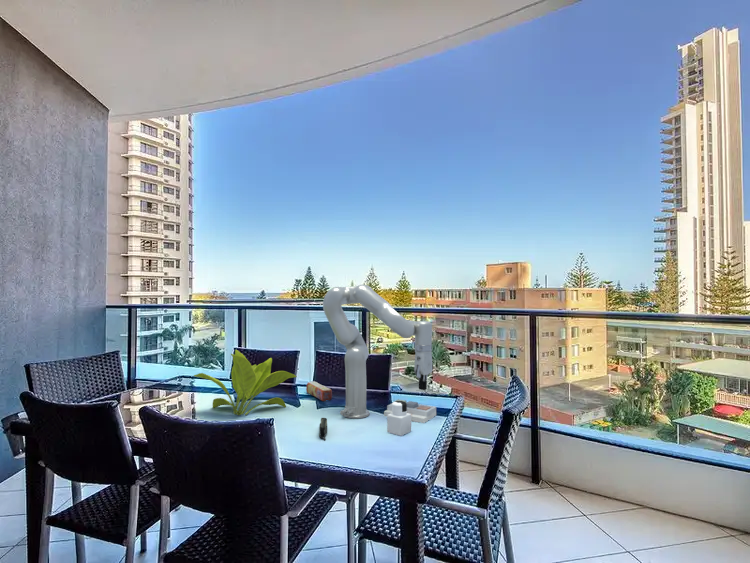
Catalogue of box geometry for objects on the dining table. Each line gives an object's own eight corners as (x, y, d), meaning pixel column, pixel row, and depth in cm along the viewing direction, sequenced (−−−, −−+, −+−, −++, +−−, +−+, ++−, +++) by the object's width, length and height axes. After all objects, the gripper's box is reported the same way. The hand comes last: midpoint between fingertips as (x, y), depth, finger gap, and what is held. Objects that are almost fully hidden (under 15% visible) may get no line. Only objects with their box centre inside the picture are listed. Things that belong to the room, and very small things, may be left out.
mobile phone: (319, 416, 168) (319, 427, 153) (327, 416, 168) (327, 427, 154) (319, 428, 168) (319, 441, 153) (327, 428, 168) (327, 440, 153)
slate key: (413, 409, 183) (413, 404, 183) (405, 407, 185) (405, 403, 185) (418, 406, 187) (418, 402, 187) (409, 405, 189) (409, 401, 189)
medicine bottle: (397, 427, 168) (397, 398, 168) (411, 431, 164) (411, 401, 164) (386, 432, 163) (386, 402, 163) (401, 436, 158) (401, 405, 158)
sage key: (402, 407, 186) (402, 402, 186) (393, 405, 188) (393, 401, 188) (406, 404, 190) (406, 400, 190) (398, 403, 192) (398, 399, 192)
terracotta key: (425, 414, 180) (425, 409, 180) (417, 412, 182) (416, 408, 182) (430, 411, 183) (430, 407, 183) (421, 410, 186) (421, 405, 186)
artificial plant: (300, 427, 188) (313, 367, 205) (234, 391, 158) (256, 325, 176) (234, 431, 206) (251, 376, 224) (164, 399, 177) (190, 339, 195)
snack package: (333, 400, 212) (333, 387, 212) (321, 402, 208) (321, 389, 208) (316, 392, 230) (316, 380, 230) (305, 393, 226) (305, 381, 226)
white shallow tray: (424, 423, 174) (424, 413, 174) (383, 415, 184) (383, 407, 184) (436, 415, 185) (436, 406, 185) (397, 409, 195) (397, 400, 195)
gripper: (423, 351, 175) (423, 393, 175) (437, 347, 188) (436, 387, 187) (408, 349, 179) (407, 391, 179) (422, 346, 192) (422, 385, 191)
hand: (422, 389), depth 183 cm, fingers closed
